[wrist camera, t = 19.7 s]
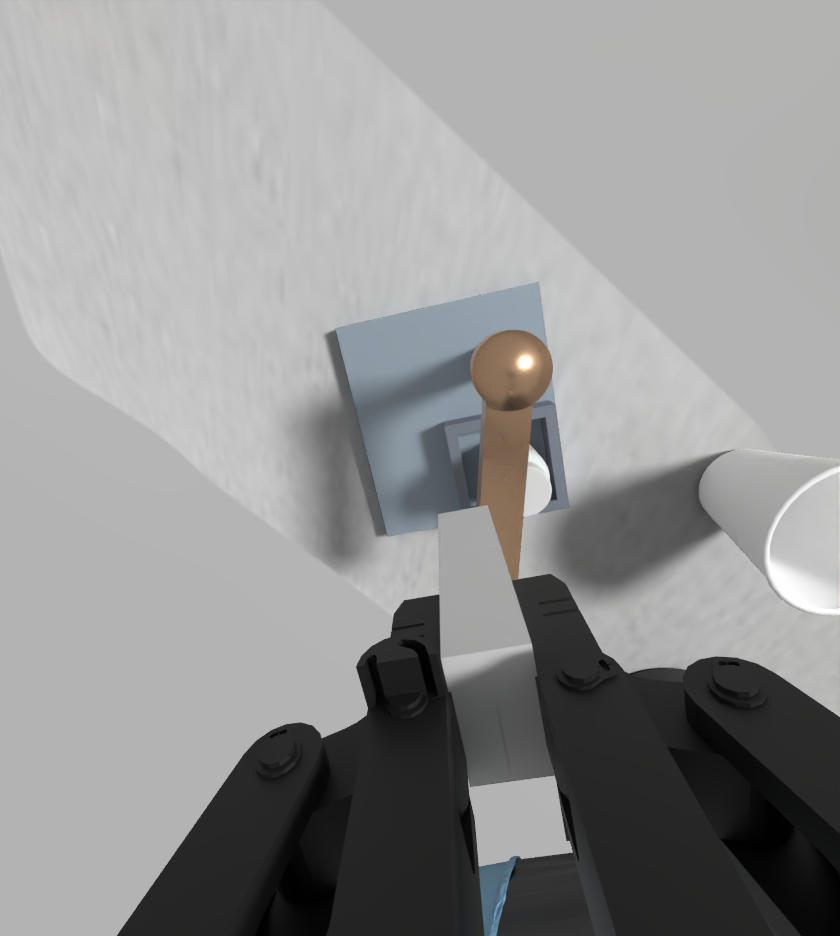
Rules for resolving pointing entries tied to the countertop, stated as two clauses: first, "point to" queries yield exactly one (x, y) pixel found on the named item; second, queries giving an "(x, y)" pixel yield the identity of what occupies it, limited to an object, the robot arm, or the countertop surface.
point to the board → (437, 403)
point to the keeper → (507, 427)
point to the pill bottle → (536, 484)
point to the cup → (782, 520)
